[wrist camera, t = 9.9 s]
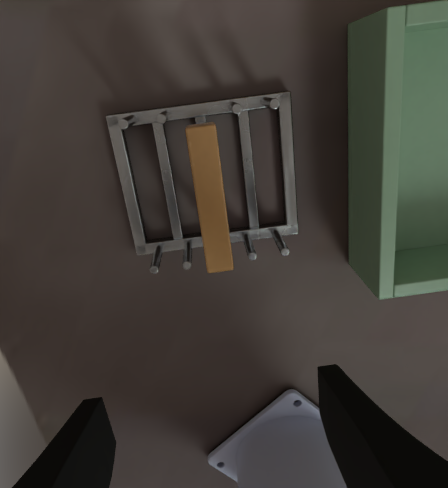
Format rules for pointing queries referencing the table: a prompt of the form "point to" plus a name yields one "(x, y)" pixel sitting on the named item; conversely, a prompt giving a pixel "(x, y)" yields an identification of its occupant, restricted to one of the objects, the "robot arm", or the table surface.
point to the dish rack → (208, 179)
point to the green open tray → (399, 149)
